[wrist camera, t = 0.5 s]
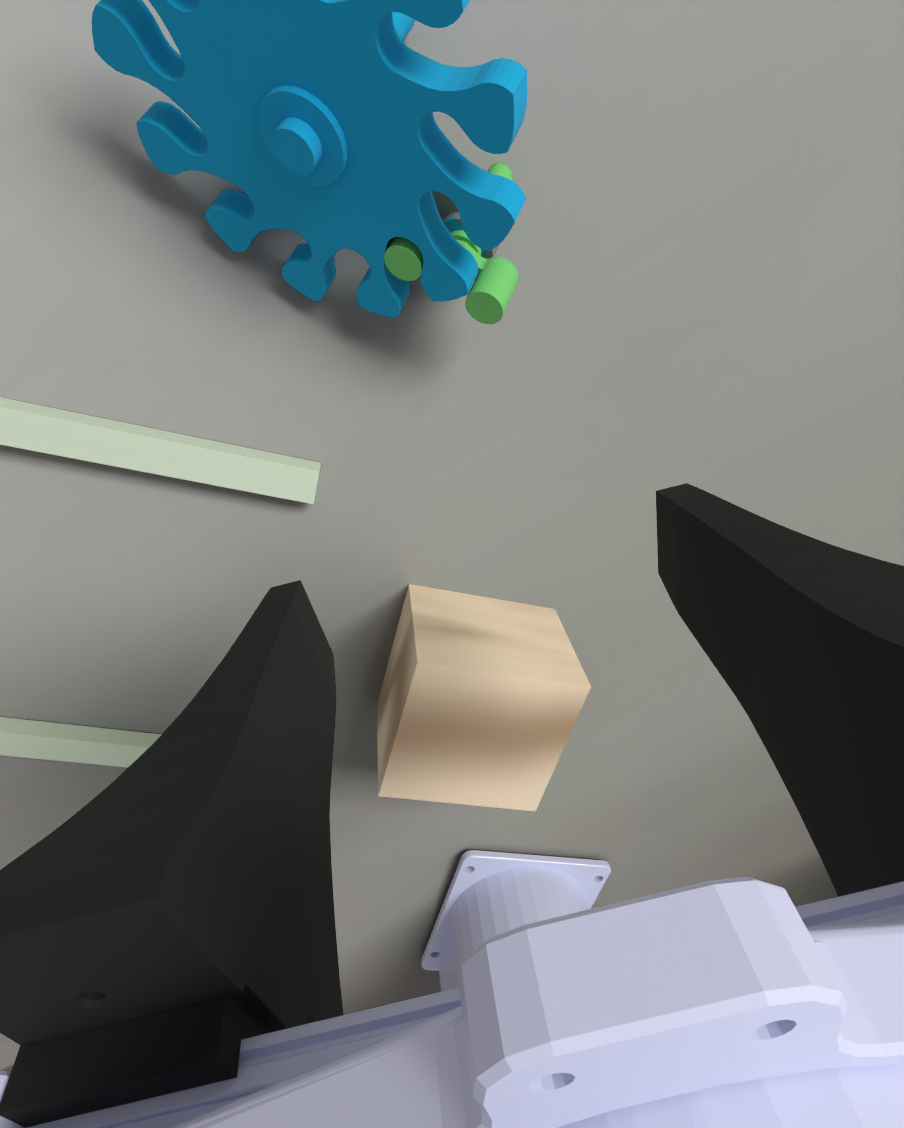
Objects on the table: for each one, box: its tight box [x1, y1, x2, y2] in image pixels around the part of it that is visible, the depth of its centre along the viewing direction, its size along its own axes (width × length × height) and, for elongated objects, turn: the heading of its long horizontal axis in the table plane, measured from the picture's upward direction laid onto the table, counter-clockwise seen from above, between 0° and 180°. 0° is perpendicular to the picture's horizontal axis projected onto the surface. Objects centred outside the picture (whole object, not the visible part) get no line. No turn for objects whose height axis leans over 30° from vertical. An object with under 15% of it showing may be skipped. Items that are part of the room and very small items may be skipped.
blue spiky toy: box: [92, 0, 527, 324], centre depth 16 cm, size 11×6×10 cm
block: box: [377, 584, 591, 811], centre depth 25 cm, size 6×6×5 cm
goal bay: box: [0, 397, 321, 768], centre depth 23 cm, size 14×14×1 cm
